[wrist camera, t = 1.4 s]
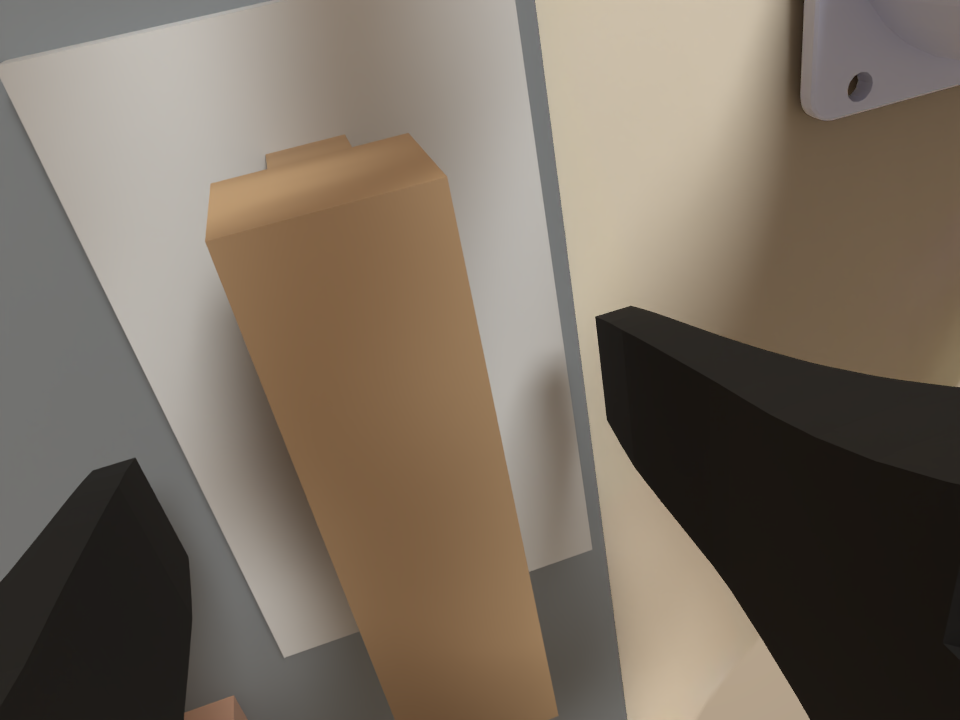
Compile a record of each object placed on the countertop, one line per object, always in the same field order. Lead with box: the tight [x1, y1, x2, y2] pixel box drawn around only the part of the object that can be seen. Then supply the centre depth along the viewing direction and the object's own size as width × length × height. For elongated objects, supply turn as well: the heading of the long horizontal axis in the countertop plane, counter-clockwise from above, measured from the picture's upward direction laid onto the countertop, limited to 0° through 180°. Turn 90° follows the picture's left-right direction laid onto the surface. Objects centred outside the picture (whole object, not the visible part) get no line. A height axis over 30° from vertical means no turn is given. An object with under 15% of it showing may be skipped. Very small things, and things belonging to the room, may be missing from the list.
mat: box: [0, 0, 627, 720], centre depth 16 cm, size 21×26×1 cm
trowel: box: [0, 0, 592, 720], centre depth 12 cm, size 7×12×5 cm, turn 10°
